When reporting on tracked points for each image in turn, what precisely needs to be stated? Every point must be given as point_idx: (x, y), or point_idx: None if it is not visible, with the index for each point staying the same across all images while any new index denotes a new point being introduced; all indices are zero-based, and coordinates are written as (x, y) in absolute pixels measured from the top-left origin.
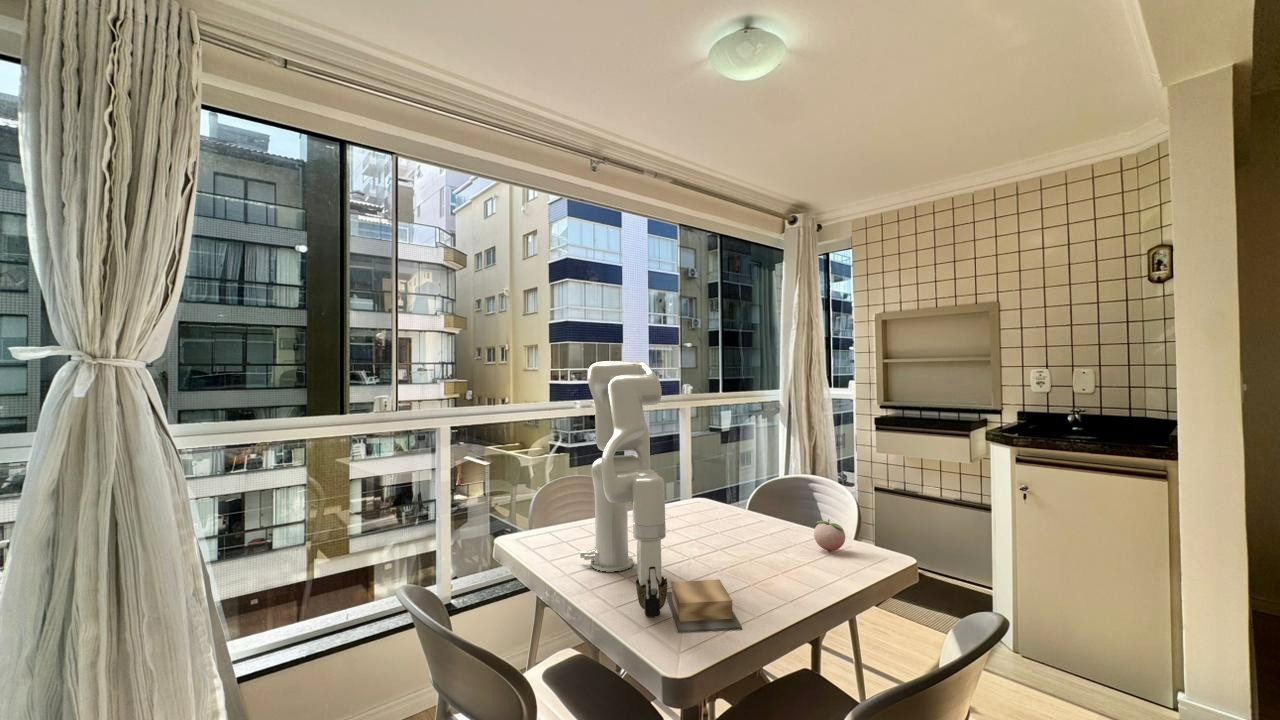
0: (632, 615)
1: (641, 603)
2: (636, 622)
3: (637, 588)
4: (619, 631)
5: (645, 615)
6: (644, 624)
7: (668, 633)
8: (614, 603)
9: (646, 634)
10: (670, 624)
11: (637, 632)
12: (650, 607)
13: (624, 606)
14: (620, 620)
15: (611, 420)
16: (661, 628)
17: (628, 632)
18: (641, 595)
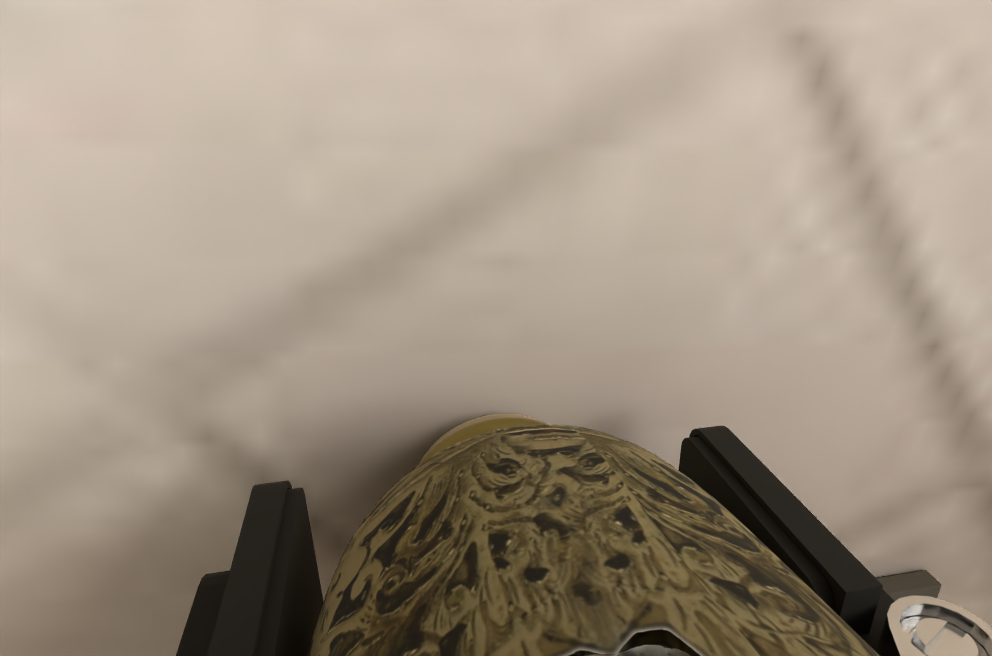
0: (524, 261)
1: (397, 500)
2: (327, 312)
3: (505, 641)
4: (24, 72)
5: (473, 419)
6: (275, 405)
7: (76, 635)
8: (916, 8)
9: (4, 434)
10: None
11: (40, 329)
12: (188, 651)
13: (789, 155)
14: (389, 93)
15: None
16: (187, 571)
17: (16, 210)
18: (367, 626)
